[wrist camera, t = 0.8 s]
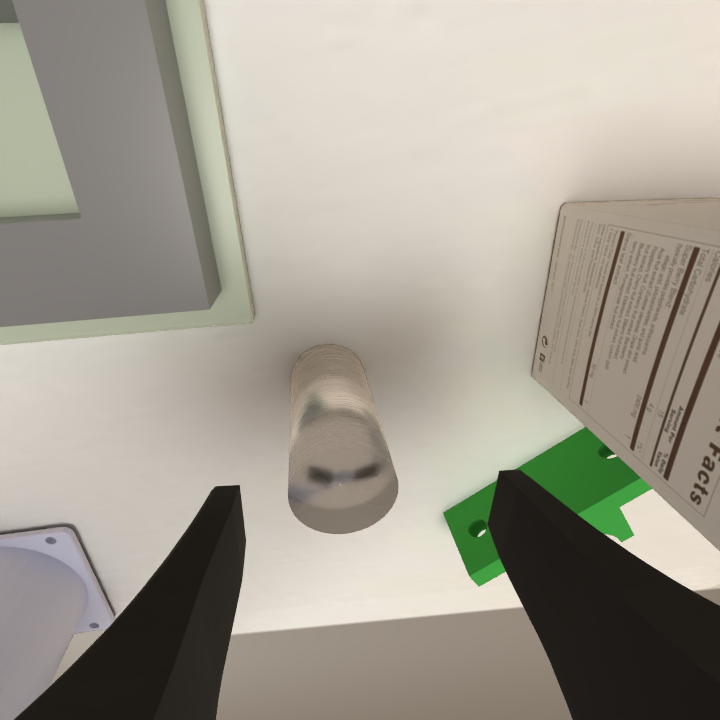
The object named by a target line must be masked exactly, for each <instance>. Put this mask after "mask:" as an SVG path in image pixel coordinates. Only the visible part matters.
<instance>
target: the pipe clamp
mask: <svg viewBox="0 0 720 720" xmlns="http://www.w3.org/2000/svg"><path fill="white" fill-rule="evenodd" d="M614 454H615V453H614V452H613V451H612V450H611V449H609V448H608V447H607V446H606V445H605V444H604V443H603V442H602V441H601V440H600V439H599V438H598V437H597V436H595V435H594V434H593V433H592V432H591V431H590V430H589V429H588V428H587V427H585V428H583V429H582V430H580V431H579V432H577V433H575V434H574V435H572V436H570V437H569V438H567V439H565V440H564V441H562V442H560V443H559V444H557V445H555V446H554V447H552V448H550V449H549V450H547V451H545V452H544V453H542V454H540V455H539V456H537V457H535V458H534V459H532V460H530V461H529V462H527V463H525V464H524V465H522V466H520V467H519V468H517V469H515V470H521V471H522V472H524V473H525V474H526V475H528V476H529V477H530V478H532V479H533V480H534V481H536V482H537V483H538V484H539V485H541V486H542V487H543V488H544V489H546V490H547V491H548V492H549V493H551V494H552V495H553V496H555V497H556V498H557V499H558V500H560V501H561V502H562V503H563V504H565V505H566V506H567V507H569V508H570V509H571V510H572V511H574V512H575V513H576V514H578V515H579V516H580V517H582V518H583V519H584V520H586V521H587V522H588V523H590V524H591V525H592V526H594V527H595V528H596V529H598V530H599V531H600V532H602V533H603V534H609V535H613V536H615V537H617V538H618V539H619V540H620V541H621V542H623V541H625V540H626V539H628V538H630V537H632V536H634V534H633V532H632V530H631V528H630V526H629V524H628V523H627V521H626V519H625V517H624V515H623V513H622V511H621V510H620V508H619V507H621V506H622V505H624V504H626V503H628V502H629V501H631V500H633V499H635V498H636V497H638V496H640V495H642V494H644V493H645V492H647V491H649V490H651V489H652V488H651V487H650V486H649V485H648V484H647V483H646V482H645V481H644V480H643V479H642V478H641V477H640V476H639V475H637V474H636V473H635V472H634V471H633V470H632V469H631V468H630V467H629V466H628V465H627V464H626V463H625V462H623V461H622V460H621V459H620V458H619V457H618V456H617V457H615V458H611V459H606V458H607V457H608V456H610V455H614ZM496 484H497V481H495V482H494V483H492V484H490V485H489V486H487V487H485V488H484V489H482V490H480V491H479V492H477V493H475V494H474V495H472V496H471V497H469V498H467V499H466V500H464V501H462V502H461V503H459V504H457V505H456V506H454V507H452V508H451V509H449V510H447V511H446V512H444V513H443V514H444V516H445V519H446V521H447V524H448V526H449V528H450V531H451V533H452V536H453V538H454V541H455V543H456V545H457V548H458V550H459V553H460V555H461V557H462V560H463V562H464V565H465V567H466V569H467V572H468V574H469V576H470V577H471V579H472V580H473V581H474V582H475V583H476V584H477V585H478V586H481V585H483V584H485V583H486V582H488V581H490V580H492V579H493V578H495V577H497V576H499V575H500V574H502V573H504V572H506V571H505V569H504V566H503V564H502V562H501V560H500V558H499V555H498V553H497V550H496V547H495V545H494V542H493V539H492V536H491V533H490V530H489V527H488V524H487V523H488V519H489V515H490V510H491V506H492V501H493V497H494V493H495V488H496ZM485 529H486V531H485V533H484V534H483V535H482V536H480V537H477V536H478V534H479V533H480V532H481V531H483V530H485Z"/></svg>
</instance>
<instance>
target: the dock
mask: <svg viewBox="0 0 720 720" xmlns="http://www.w3.org/2000/svg"><path fill="white" fill-rule="evenodd" d="M254 316H255V314H254V308H253V302H252V295H251V289H250V283H249V277H248V271H247V265H246V259H245V253H244V246H243V240H242V234H241V228H240V222H239V216H238V210H237V203H236V197H235V191H234V185H233V179H232V173H231V167H230V161H229V154H228V148H227V142H226V136H225V130H224V124H223V118H222V112H221V105H220V99H219V93H218V87H217V81H216V75H215V69H214V63H213V56H212V50H211V44H210V38H209V32H208V26H207V20H206V14H205V7H204V1H203V0H0V345H5V344H17V343H28V342H39V341H51V340H62V339H73V338H85V337H96V336H108V335H119V334H130V333H142V332H153V331H165V330H176V329H187V328H199V327H210V326H221V325H233V324H244V323H253V319H254Z"/></svg>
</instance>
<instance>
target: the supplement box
mask: <svg viewBox="0 0 720 720" xmlns="http://www.w3.org/2000/svg"><path fill="white" fill-rule="evenodd" d="M532 377H533V378H534V379H535V380H536V381H537V382H538V383H539V384H541V385H542V386H543V387H544V388H545V389H546V390H547V391H548V392H549V393H550V394H552V395H553V396H554V397H555V398H556V399H557V400H558V401H559V402H560V403H561V404H562V405H563V406H565V407H566V408H567V409H568V410H569V411H570V412H571V413H572V414H573V415H574V416H575V417H576V418H577V419H578V420H579V421H580V422H582V423H583V424H584V425H585V426H586V427H587V428H588V429H589V430H590V431H591V432H592V433H593V434H594V435H595V436H597V437H598V438H599V439H600V440H601V441H602V442H603V443H604V444H605V445H606V446H607V447H608V448H609V449H611V450H612V451H613V452H614V453H615V454H616V455H617V456H618V457H619V458H620V459H621V460H622V461H623V462H625V463H626V464H627V465H628V466H629V467H630V468H631V469H632V470H633V471H634V472H635V473H636V474H637V475H639V476H640V477H641V478H642V479H643V480H644V481H645V482H646V483H647V484H648V485H649V486H650V487H651V488H652V489H654V490H655V491H656V492H657V493H658V494H659V495H660V496H661V497H662V498H663V499H664V500H665V501H666V502H667V503H669V504H670V505H671V506H672V507H673V508H674V509H675V510H676V511H677V512H678V513H679V514H680V515H681V516H683V517H684V518H685V519H686V520H687V521H688V522H689V523H690V524H691V525H692V526H693V527H694V528H695V529H697V530H698V531H699V532H700V533H701V534H702V535H703V536H704V537H705V538H706V539H707V540H708V541H709V542H710V543H712V544H713V545H714V546H715V547H716V548H717V549H718V550H719V551H720V198H698V199H663V200H627V201H598V202H574V203H566V204H564V205H563V206H562V207H561V211H560V216H559V222H558V227H557V233H556V238H555V244H554V250H553V256H552V261H551V267H550V273H549V278H548V284H547V290H546V295H545V301H544V307H543V313H542V319H541V325H540V331H539V337H538V343H537V348H536V354H535V360H534V366H533V372H532Z"/></svg>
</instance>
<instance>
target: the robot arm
mask: <svg viewBox="0 0 720 720" xmlns="http://www.w3.org/2000/svg"><path fill="white" fill-rule="evenodd" d="M487 524H488V527H489V530H490V533H491V536H492V539H493V542H494V545H495V547H496V550H497V553H498V555H499V558H500V560H501V562H502V564H503V566H504V569H505V571H506V573H507V575H508V577H509V579H510V581H511V583H512V585H513V587H514V589H515V591H516V593H517V595H518V597H519V599H520V601H521V603H522V605H523V607H524V609H525V611H526V612H527V615H528V616H529V619H530V620H531V622H532V625H533V626H534V628H535V630H536V632H537V634H538V636H539V638H540V640H541V643H542V645H543V647H544V649H545V651H546V653H547V656H548V658H549V660H550V663H551V665H552V668H553V670H554V673H555V675H556V677H557V680H558V683H559V685H560V688H561V690H562V692H563V695H564V697H565V700H566V703H567V705H568V708H569V711H570V713H571V716H572V719H573V720H720V606H719V605H717V604H715V603H713V602H712V601H710V600H708V599H706V598H704V597H702V596H700V595H699V594H697V593H695V592H693V591H692V590H690V589H688V588H686V587H685V586H683V585H681V584H679V583H678V582H676V581H674V580H673V579H671V578H670V577H668V576H666V575H665V574H663V573H662V572H660V571H658V570H657V569H655V568H653V567H652V566H650V565H649V564H647V563H645V562H644V561H642V560H641V559H639V558H638V557H636V556H635V555H633V554H632V553H630V552H629V551H627V550H626V549H624V548H623V547H622V546H620V545H619V544H617V543H616V542H614V541H613V540H612V539H610V538H609V537H607V536H606V535H604V534H603V533H602V532H600V531H599V530H598V529H596V528H595V527H594V526H592V525H591V524H590V523H588V522H587V521H586V520H584V519H583V518H582V517H580V516H579V515H578V514H576V513H575V512H574V511H572V510H571V509H570V508H569V507H567V506H566V505H565V504H563V503H562V502H561V501H560V500H558V499H557V498H556V497H555V496H553V495H552V494H551V493H549V492H548V491H547V490H546V489H544V488H543V487H542V486H541V485H539V484H538V483H537V482H536V481H534V480H533V479H532V478H530V477H529V476H528V475H526V474H525V473H524V472H522V471H521V470H505V471H499V475H498V479H497V484H496V488H495V493H494V497H493V501H492V506H491V510H490V515H489V519H488V523H487ZM52 537H53V538H52ZM245 546H246V537H245V528H244V519H243V510H242V502H241V493H240V485H233V486H216V487H215V488H214V489H213V490H212V491H211V492H210V494H209V496H208V497H207V499H206V501H205V502H204V504H203V506H202V507H201V509H200V510H199V512H198V513H197V515H196V517H195V518H194V520H193V521H192V523H191V524H190V526H189V527H188V529H187V530H186V531H185V533H184V534H183V536H182V537H181V538H180V540H179V541H178V543H177V544H176V545H175V547H174V548H173V550H172V551H171V552H170V554H169V555H168V556H167V558H166V559H165V560H164V562H163V563H162V564H161V566H160V567H159V568H158V569H157V571H156V572H155V573H154V574H153V576H152V577H151V578H150V580H149V581H148V582H147V583H146V585H145V586H144V587H143V588H142V590H141V591H140V592H139V593H138V594H137V596H136V597H135V598H134V599H133V600H132V601H131V603H130V604H129V605H128V606H127V607H126V608H125V610H124V611H123V612H122V613H121V614H120V615H119V616H118V617H117V618H116V620H115V618H114V615H113V613H112V611H111V609H110V607H109V605H108V603H107V600H106V598H105V596H104V594H103V592H102V590H101V588H100V586H99V583H98V581H97V579H96V577H95V575H94V573H93V571H92V569H91V566H90V564H89V562H88V560H87V558H86V556H85V554H84V552H83V549H82V547H81V545H80V543H79V541H78V539H77V537H76V535H75V533H74V531H73V530H72V529H70V528H67V527H58V528H50V529H42V530H35V531H27V532H19V533H12V534H4V535H0V720H216V714H217V706H218V698H219V692H220V686H221V680H222V675H223V670H224V665H225V660H226V655H227V651H228V646H229V641H230V636H231V632H232V627H233V622H234V617H235V612H236V608H237V603H238V598H239V593H240V588H241V583H242V576H243V567H244V557H245ZM114 620H115V621H114ZM102 629H107V630H106V631H105V632H104V633H103V634H102V635H101V636H100V637H99V638H98V639H97V640H96V641H95V642H94V643H93V644H92V645H91V646H90V647H89V648H88V649H87V650H86V652H84V653H83V654H82V656H80V658H79V659H78V660H77V661H76V662H75V663H74V664H73V665H72V666H71V667H70V668H69V669H68V670H67V671H66V672H65V673H63V675H61V677H59V678H58V679H57V680H56V681H55V682H54V683H53V684H52V685H51V686H50V687H49V685H50V683H51V681H52V679H53V677H54V675H55V673H56V670H57V668H58V666H59V664H60V662H61V660H62V658H63V656H64V654H65V652H66V650H67V647H68V645H69V643H70V641H71V639H72V637H73V635H74V634H76V633H83V632H89V631H96V630H102ZM48 687H49V688H48Z"/></svg>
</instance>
